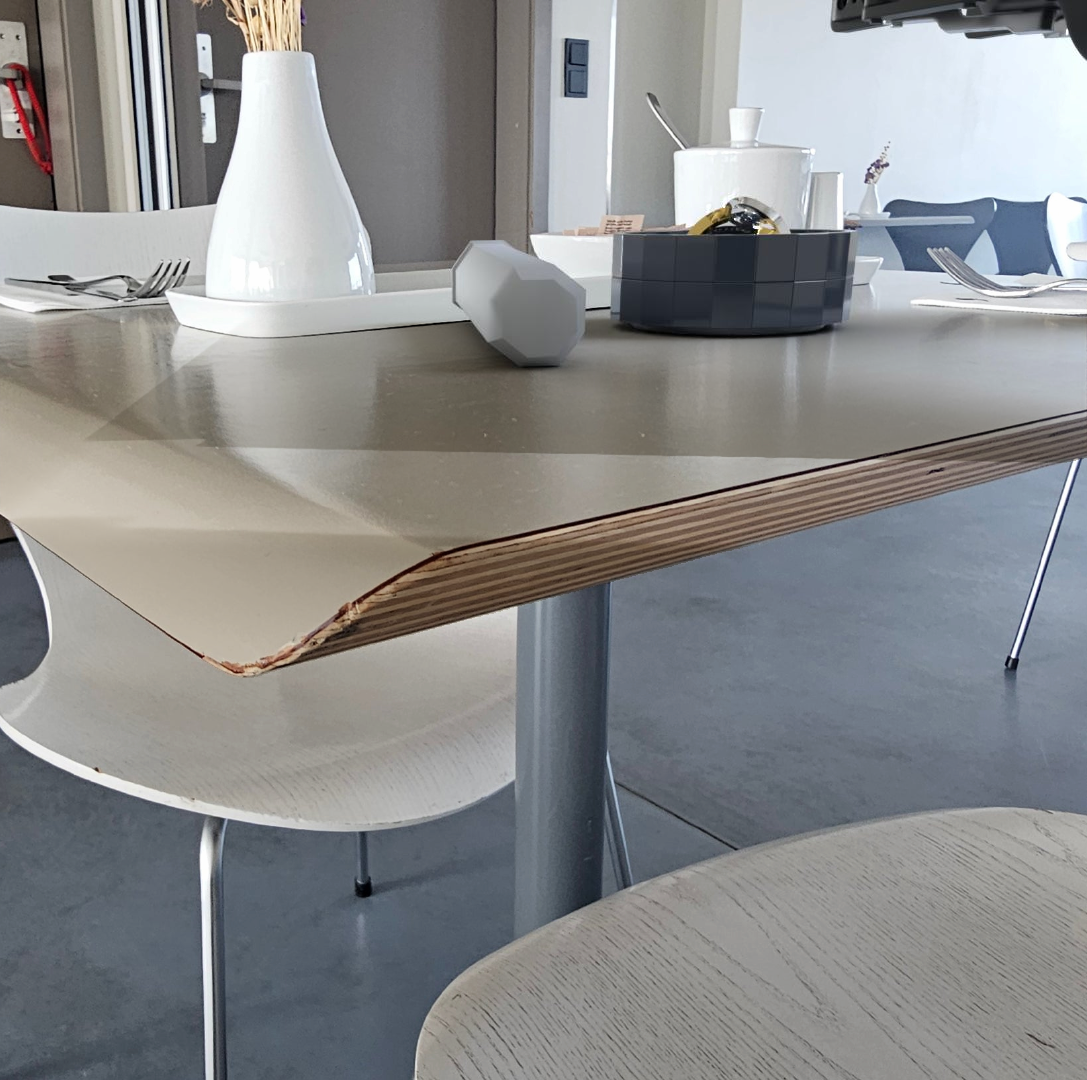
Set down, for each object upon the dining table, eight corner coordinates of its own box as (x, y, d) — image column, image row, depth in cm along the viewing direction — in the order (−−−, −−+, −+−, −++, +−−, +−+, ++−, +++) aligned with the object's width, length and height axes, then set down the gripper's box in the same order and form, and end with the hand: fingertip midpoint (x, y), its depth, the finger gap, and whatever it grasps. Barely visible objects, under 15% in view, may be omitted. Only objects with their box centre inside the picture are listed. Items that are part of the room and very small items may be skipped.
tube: (616, 279, 53) (541, 253, 76) (505, 242, 52) (464, 226, 75) (576, 394, 54) (515, 333, 78) (467, 359, 54) (439, 308, 77)
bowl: (745, 311, 81) (751, 227, 79) (899, 329, 69) (910, 230, 67) (568, 322, 76) (570, 232, 74) (702, 343, 63) (708, 236, 62)
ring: (788, 326, 73) (801, 218, 75) (786, 295, 70) (800, 184, 72) (676, 326, 75) (692, 222, 77) (670, 297, 72) (687, 189, 75)
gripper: (1383, -153, 44) (1023, -68, 58) (1126, -195, 39) (796, -90, 52) (1332, 67, 47) (999, 99, 61) (1085, 57, 41) (781, 94, 55)
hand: (905, 11), depth 57 cm, fingers open, 8 cm apart
